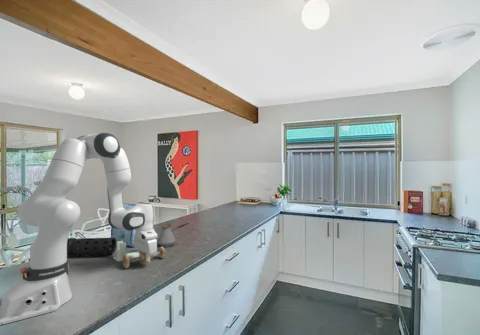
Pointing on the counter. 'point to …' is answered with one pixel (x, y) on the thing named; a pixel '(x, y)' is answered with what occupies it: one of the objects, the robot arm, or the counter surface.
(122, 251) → the brackets
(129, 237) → the lunch bag
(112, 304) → the counter surface
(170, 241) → the coffee pot
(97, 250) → the black foam roller
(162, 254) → the brown block with rod
